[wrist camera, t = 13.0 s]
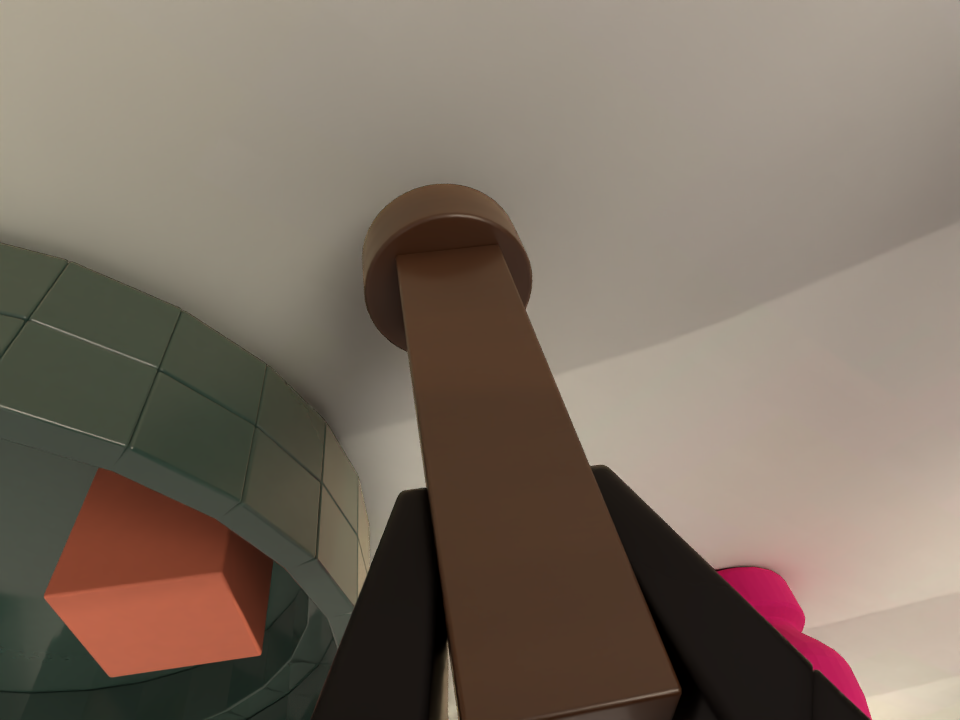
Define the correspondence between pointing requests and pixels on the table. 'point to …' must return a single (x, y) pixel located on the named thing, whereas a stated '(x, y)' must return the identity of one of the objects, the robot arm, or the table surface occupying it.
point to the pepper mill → (793, 626)
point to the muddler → (508, 478)
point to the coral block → (157, 582)
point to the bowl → (161, 492)
